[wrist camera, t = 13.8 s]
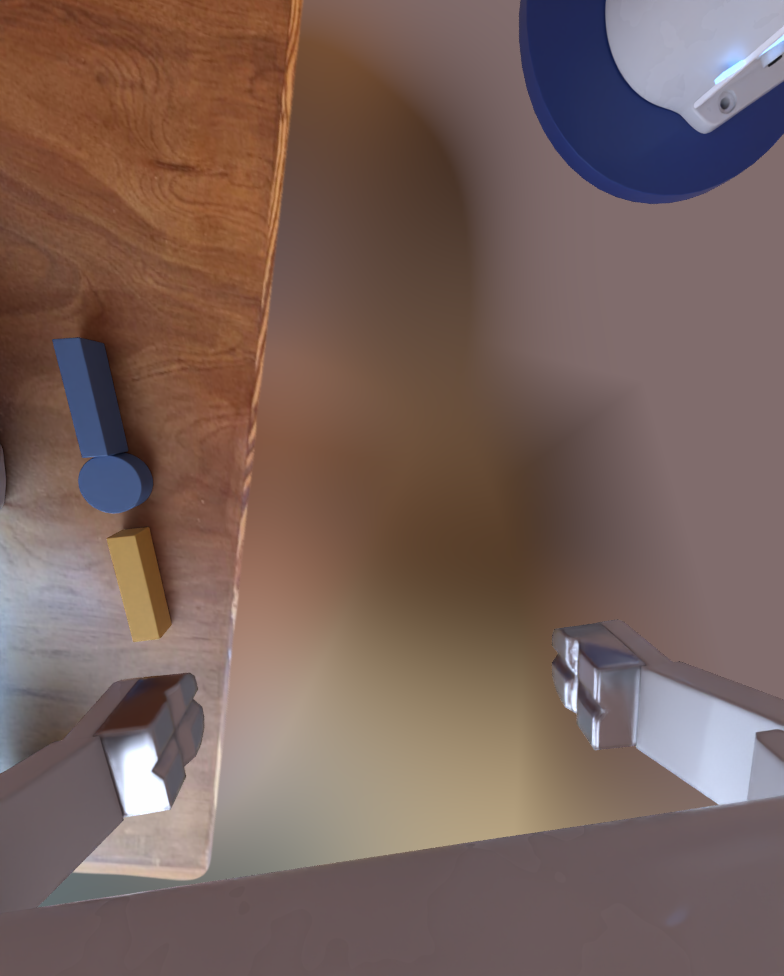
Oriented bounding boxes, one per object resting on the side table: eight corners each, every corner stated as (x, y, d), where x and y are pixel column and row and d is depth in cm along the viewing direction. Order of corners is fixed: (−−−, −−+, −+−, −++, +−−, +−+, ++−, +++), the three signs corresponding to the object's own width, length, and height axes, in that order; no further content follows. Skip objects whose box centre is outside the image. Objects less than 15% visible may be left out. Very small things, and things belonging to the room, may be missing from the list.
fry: (122, 529, 36) (105, 538, 34) (149, 526, 36) (135, 535, 34) (146, 627, 38) (132, 642, 36) (172, 624, 38) (160, 639, 36)
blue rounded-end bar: (59, 346, 32) (30, 340, 29) (123, 341, 33) (100, 335, 30) (101, 510, 35) (78, 519, 32) (158, 504, 36) (140, 513, 33)
